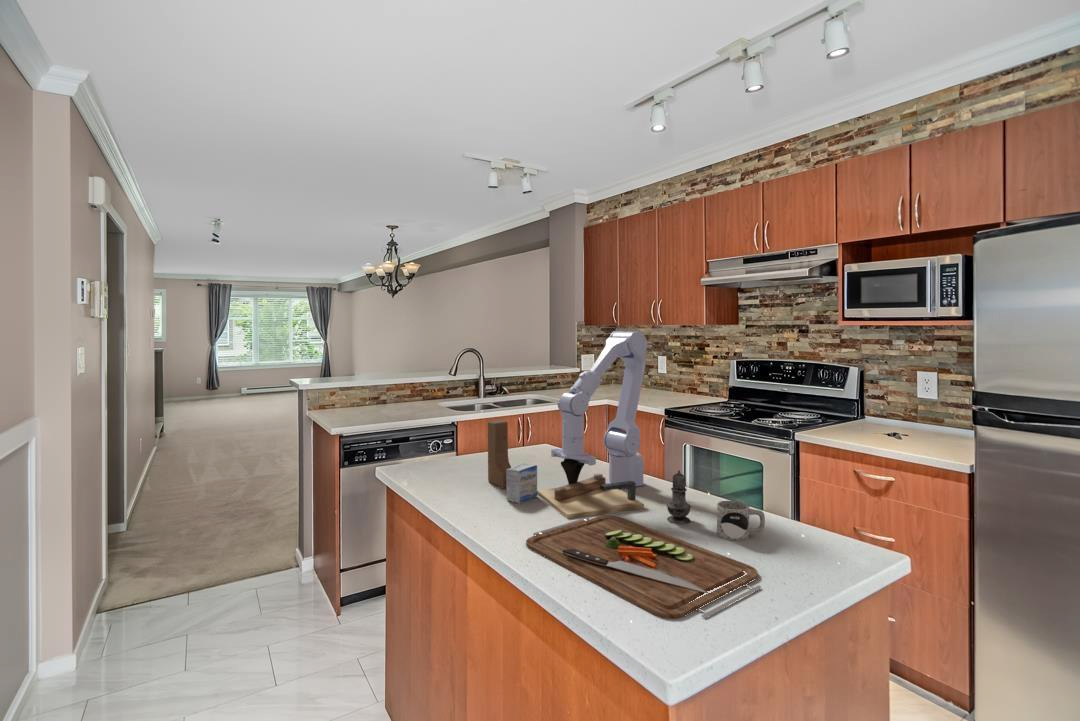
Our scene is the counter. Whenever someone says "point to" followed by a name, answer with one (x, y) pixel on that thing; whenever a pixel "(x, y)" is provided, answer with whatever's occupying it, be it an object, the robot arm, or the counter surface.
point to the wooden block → (498, 452)
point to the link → (580, 487)
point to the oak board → (590, 502)
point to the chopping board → (643, 564)
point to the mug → (736, 520)
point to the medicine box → (521, 482)
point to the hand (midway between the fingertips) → (572, 486)
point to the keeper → (620, 485)
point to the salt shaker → (678, 501)
